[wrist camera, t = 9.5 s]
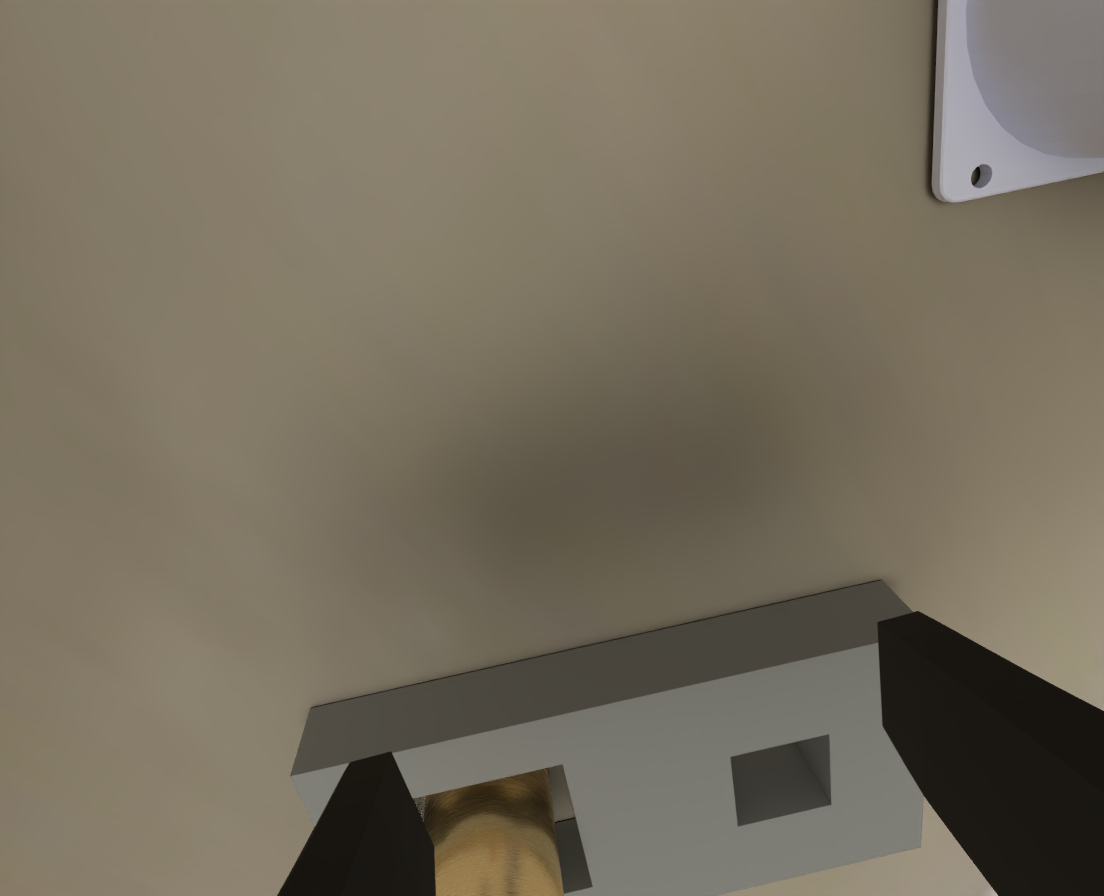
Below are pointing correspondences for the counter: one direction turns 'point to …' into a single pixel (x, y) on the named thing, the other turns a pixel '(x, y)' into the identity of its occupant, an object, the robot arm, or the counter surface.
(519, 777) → the gold cylinder
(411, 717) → the header block
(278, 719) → the counter surface
